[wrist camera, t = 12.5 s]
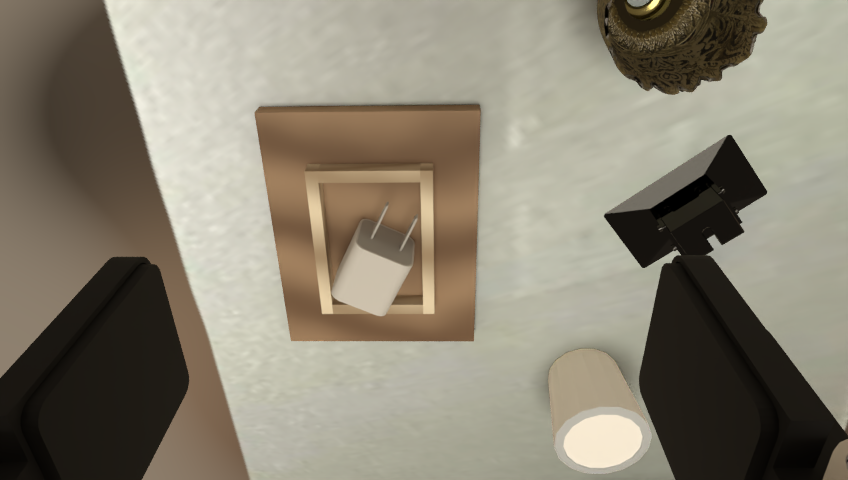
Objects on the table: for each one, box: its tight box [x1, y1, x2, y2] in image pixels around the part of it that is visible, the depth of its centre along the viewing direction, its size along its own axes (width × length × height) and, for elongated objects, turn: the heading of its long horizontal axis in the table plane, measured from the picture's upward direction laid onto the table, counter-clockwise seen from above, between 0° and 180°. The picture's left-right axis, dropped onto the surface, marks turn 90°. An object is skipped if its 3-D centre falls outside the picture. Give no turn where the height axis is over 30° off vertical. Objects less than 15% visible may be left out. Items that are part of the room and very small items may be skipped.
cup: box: [597, 0, 767, 95], centre depth 31 cm, size 8×7×8 cm
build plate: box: [604, 135, 767, 268], centre depth 40 cm, size 12×7×5 cm, turn 130°
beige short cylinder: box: [548, 349, 652, 474], centre depth 46 cm, size 7×7×7 cm
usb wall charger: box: [331, 202, 418, 316], centre depth 40 cm, size 4×7×4 cm, turn 155°
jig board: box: [255, 105, 481, 341], centre depth 42 cm, size 18×14×2 cm
